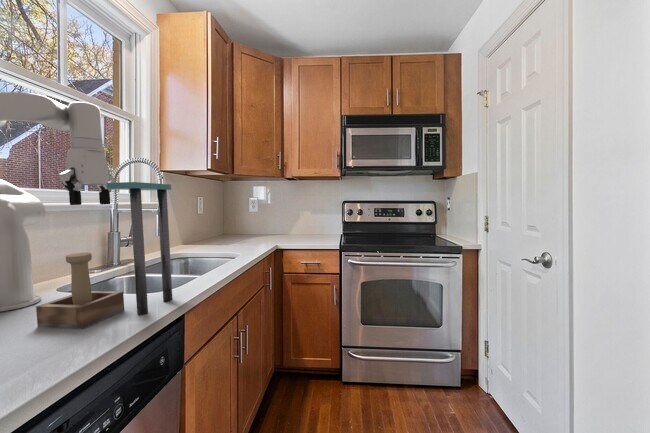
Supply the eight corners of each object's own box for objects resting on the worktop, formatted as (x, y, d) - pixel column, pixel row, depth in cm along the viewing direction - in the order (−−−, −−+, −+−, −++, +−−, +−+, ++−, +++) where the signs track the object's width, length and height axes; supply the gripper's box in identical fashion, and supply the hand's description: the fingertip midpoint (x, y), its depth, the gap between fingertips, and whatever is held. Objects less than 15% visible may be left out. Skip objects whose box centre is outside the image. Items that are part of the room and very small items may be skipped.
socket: (37, 327, 71) (35, 306, 71) (84, 308, 83) (83, 290, 83) (82, 329, 70) (81, 307, 69) (124, 310, 81) (123, 291, 81)
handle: (68, 320, 72) (63, 257, 72) (73, 312, 78) (68, 254, 77) (93, 315, 75) (89, 255, 74) (96, 308, 80) (92, 251, 80)
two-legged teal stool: (115, 315, 77) (106, 183, 75) (153, 298, 91) (147, 185, 89) (142, 316, 76) (134, 181, 74) (177, 298, 90) (170, 184, 88)
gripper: (101, 151, 99) (104, 204, 100) (45, 141, 82) (50, 205, 83) (122, 150, 98) (125, 203, 99) (69, 140, 81) (74, 205, 82)
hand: (91, 204), depth 91 cm, fingers open, 9 cm apart
